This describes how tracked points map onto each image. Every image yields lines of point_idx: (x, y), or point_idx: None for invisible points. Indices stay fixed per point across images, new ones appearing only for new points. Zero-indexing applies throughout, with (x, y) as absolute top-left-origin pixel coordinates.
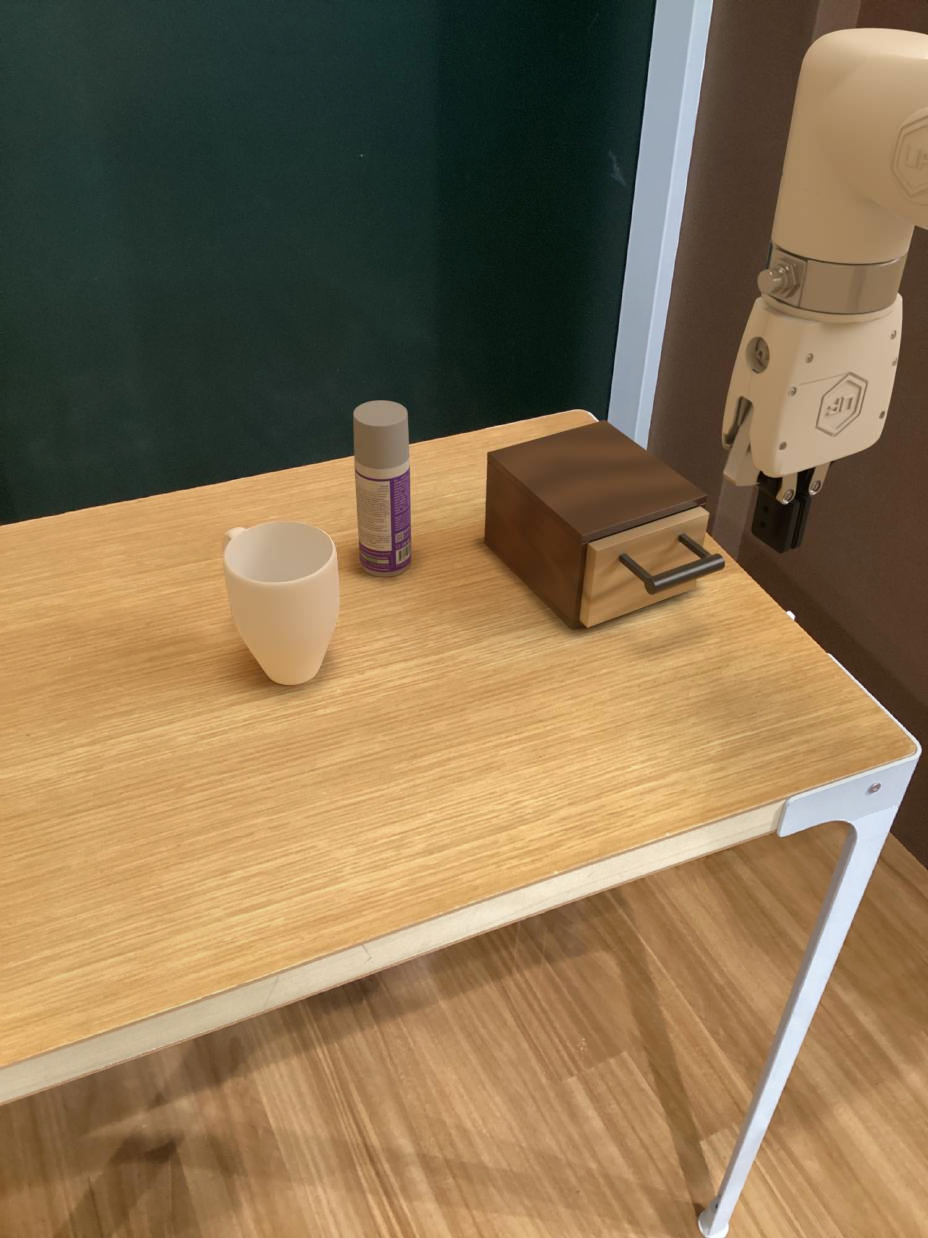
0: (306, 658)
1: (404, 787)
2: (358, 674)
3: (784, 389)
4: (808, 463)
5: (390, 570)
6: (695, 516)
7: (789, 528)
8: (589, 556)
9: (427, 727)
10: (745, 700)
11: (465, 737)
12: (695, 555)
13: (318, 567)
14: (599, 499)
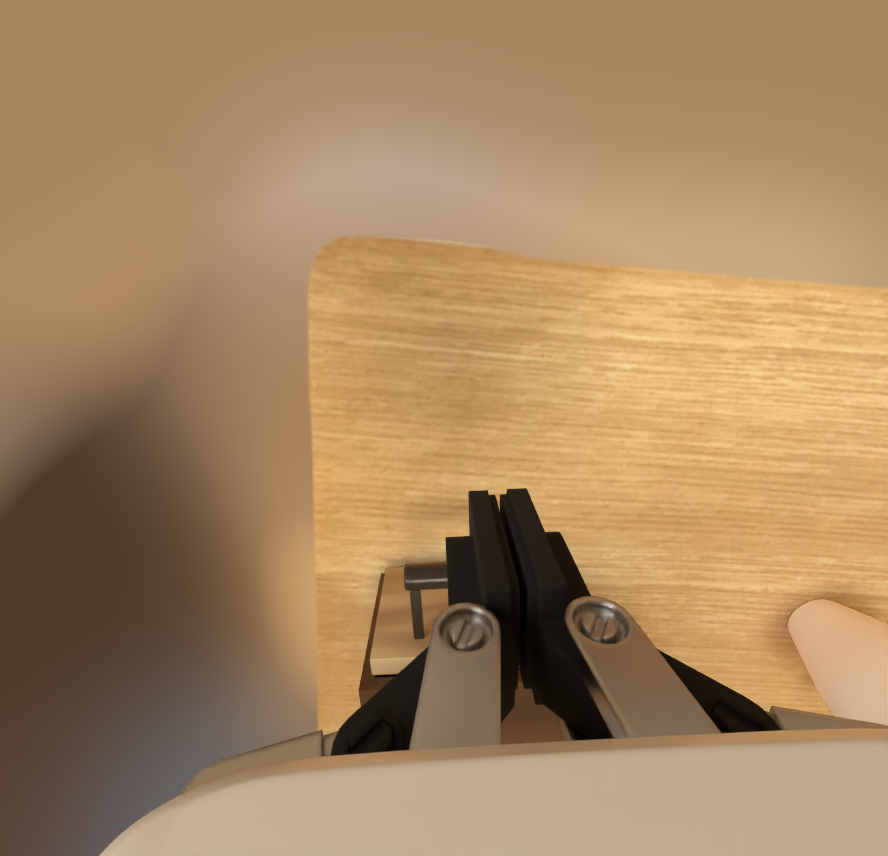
0: (868, 620)
1: (840, 444)
2: (769, 590)
3: None
4: (812, 786)
5: None
6: (394, 660)
7: (540, 528)
8: None
9: (765, 504)
10: (444, 398)
11: (744, 478)
12: (389, 604)
13: None
14: (511, 730)
